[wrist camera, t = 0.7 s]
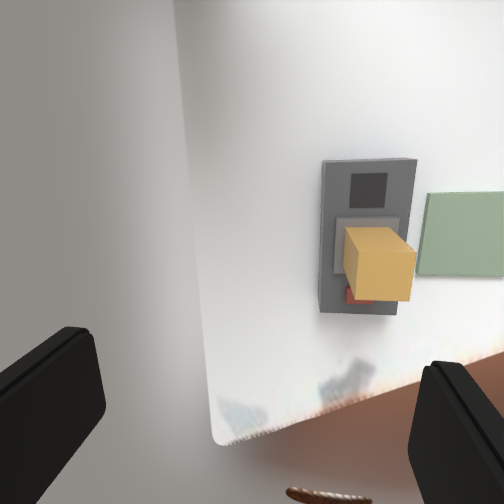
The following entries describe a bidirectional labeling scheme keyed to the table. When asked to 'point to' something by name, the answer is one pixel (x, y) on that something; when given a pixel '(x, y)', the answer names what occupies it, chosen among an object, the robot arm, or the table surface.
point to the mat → (462, 234)
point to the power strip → (360, 205)
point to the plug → (374, 258)
